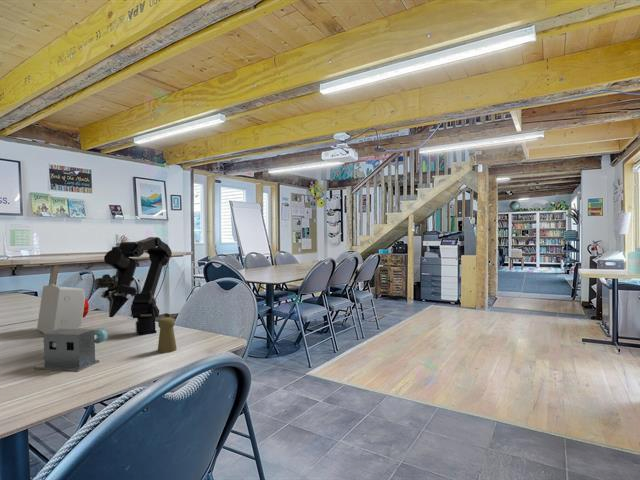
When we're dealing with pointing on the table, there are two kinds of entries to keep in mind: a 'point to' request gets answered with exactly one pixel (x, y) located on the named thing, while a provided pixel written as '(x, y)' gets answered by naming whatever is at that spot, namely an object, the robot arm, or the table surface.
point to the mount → (69, 350)
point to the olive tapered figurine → (166, 335)
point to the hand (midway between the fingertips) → (110, 317)
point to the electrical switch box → (61, 308)
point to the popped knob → (100, 335)
